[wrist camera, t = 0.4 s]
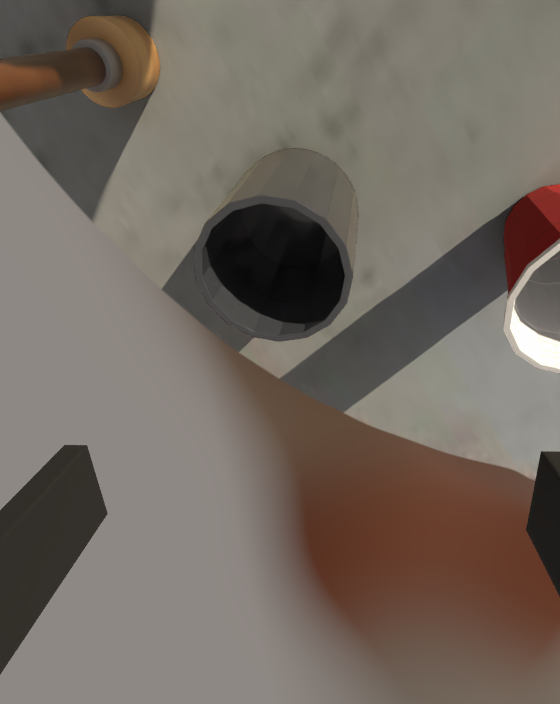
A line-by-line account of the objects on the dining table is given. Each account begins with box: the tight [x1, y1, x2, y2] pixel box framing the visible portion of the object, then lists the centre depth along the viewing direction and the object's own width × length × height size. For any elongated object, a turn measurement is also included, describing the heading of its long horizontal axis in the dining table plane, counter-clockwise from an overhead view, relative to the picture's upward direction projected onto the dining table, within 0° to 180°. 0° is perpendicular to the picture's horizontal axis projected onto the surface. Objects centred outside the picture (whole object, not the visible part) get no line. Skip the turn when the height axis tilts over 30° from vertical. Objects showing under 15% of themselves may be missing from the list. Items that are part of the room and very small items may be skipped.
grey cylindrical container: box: [194, 148, 359, 341], centre depth 31 cm, size 10×10×11 cm
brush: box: [0, 16, 160, 111], centre depth 24 cm, size 5×5×18 cm
